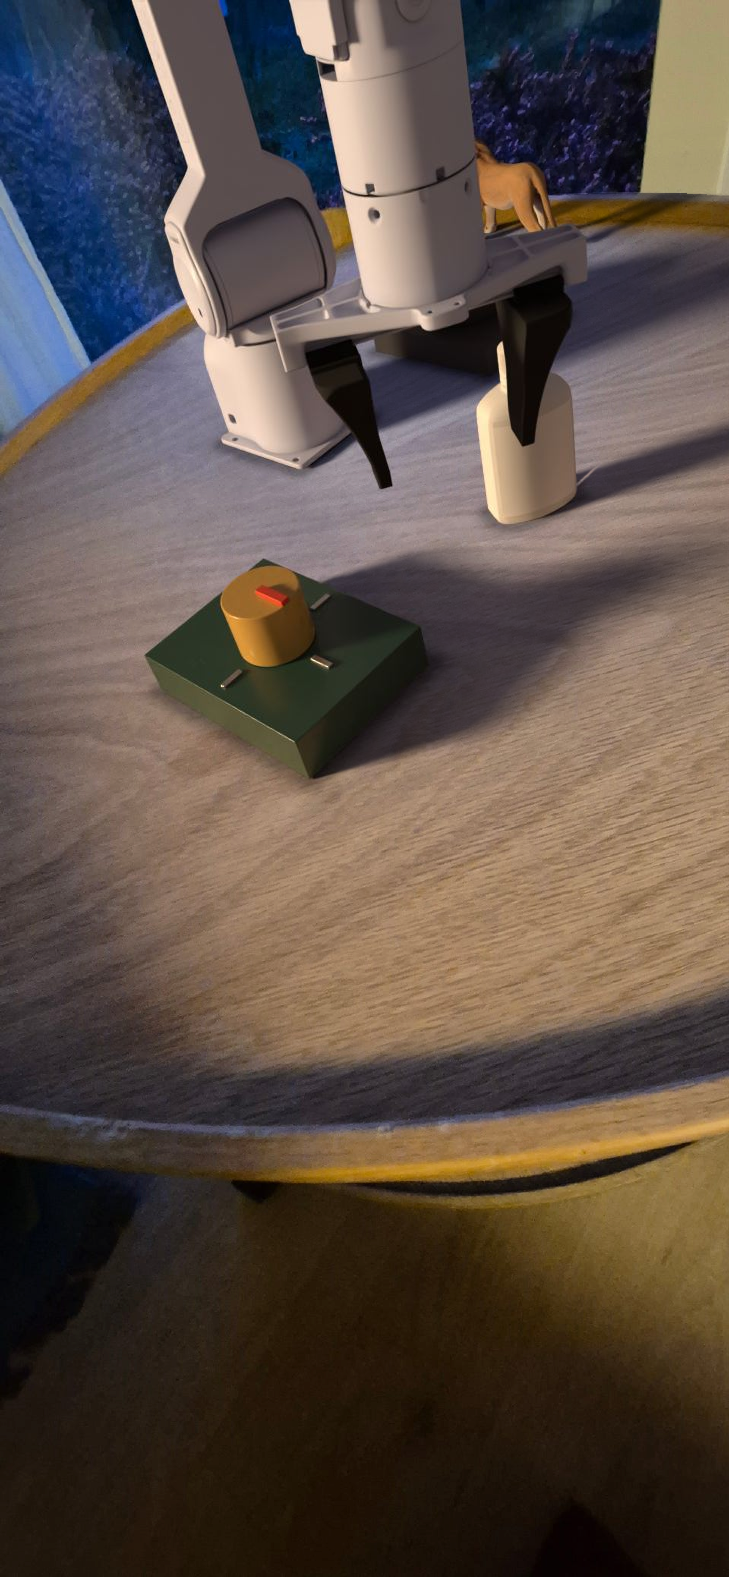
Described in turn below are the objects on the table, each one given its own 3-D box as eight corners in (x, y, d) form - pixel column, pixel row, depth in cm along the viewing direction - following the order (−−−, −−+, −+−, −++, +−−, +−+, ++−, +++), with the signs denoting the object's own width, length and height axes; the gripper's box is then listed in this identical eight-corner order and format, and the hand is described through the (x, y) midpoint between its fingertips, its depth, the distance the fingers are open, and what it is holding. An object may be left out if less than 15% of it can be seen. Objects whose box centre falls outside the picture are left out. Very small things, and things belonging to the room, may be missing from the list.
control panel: (162, 691, 57) (142, 653, 55) (276, 595, 61) (262, 555, 58) (310, 780, 50) (294, 740, 48) (429, 665, 54) (420, 623, 51)
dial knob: (224, 650, 53) (201, 598, 51) (278, 605, 55) (259, 552, 52) (276, 678, 51) (255, 624, 48) (331, 629, 53) (314, 575, 50)
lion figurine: (428, 249, 90) (412, 142, 84) (461, 224, 92) (448, 118, 86) (560, 263, 82) (554, 146, 76) (592, 236, 84) (589, 119, 78)
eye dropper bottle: (575, 522, 59) (566, 332, 50) (485, 528, 61) (461, 345, 52) (578, 481, 62) (569, 294, 53) (492, 488, 63) (470, 307, 54)
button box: (376, 352, 79) (366, 304, 76) (450, 297, 83) (444, 248, 80) (489, 378, 73) (483, 326, 70) (565, 316, 76) (562, 265, 73)
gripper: (252, 253, 37) (333, 538, 47) (610, 142, 37) (613, 454, 47) (235, 197, 42) (312, 468, 52) (551, 98, 41) (566, 391, 51)
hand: (452, 457), depth 50 cm, fingers open, 7 cm apart
